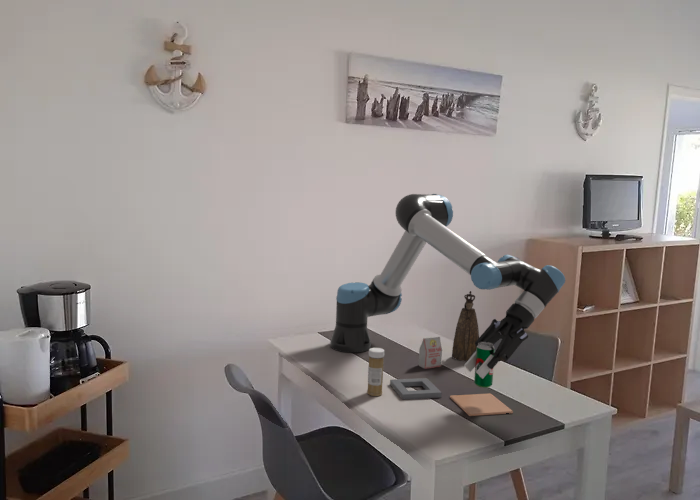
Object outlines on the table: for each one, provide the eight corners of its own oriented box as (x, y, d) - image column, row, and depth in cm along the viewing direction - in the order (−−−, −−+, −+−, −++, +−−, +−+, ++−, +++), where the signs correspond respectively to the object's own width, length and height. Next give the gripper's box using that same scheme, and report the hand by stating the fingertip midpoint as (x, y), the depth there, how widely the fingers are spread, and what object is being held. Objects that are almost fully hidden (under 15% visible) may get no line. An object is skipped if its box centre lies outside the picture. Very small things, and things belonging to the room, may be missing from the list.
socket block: (389, 384, 176) (390, 379, 176) (426, 382, 179) (426, 377, 179) (402, 399, 165) (402, 394, 165) (441, 397, 168) (441, 392, 167)
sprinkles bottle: (384, 392, 170) (386, 348, 168) (379, 397, 165) (382, 352, 164) (369, 389, 171) (371, 346, 169) (364, 395, 167) (366, 350, 165)
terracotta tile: (450, 397, 168) (450, 395, 168) (490, 395, 171) (490, 393, 171) (469, 416, 155) (469, 413, 155) (512, 413, 158) (512, 411, 158)
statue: (461, 362, 200) (465, 291, 198) (449, 357, 206) (452, 288, 204) (481, 360, 203) (485, 291, 201) (468, 355, 210) (472, 287, 208)
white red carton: (418, 365, 195) (420, 337, 194) (434, 363, 198) (436, 335, 197) (424, 368, 192) (426, 340, 191) (441, 366, 195) (442, 338, 194)
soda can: (492, 389, 159) (495, 347, 158) (474, 387, 160) (476, 345, 159) (491, 382, 164) (494, 342, 162) (473, 381, 165) (476, 340, 163)
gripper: (553, 327, 158) (500, 391, 153) (510, 312, 174) (461, 369, 170) (540, 309, 155) (485, 374, 150) (497, 295, 171) (447, 354, 167)
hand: (473, 371), depth 160 cm, fingers closed on soda can, 5 cm apart
